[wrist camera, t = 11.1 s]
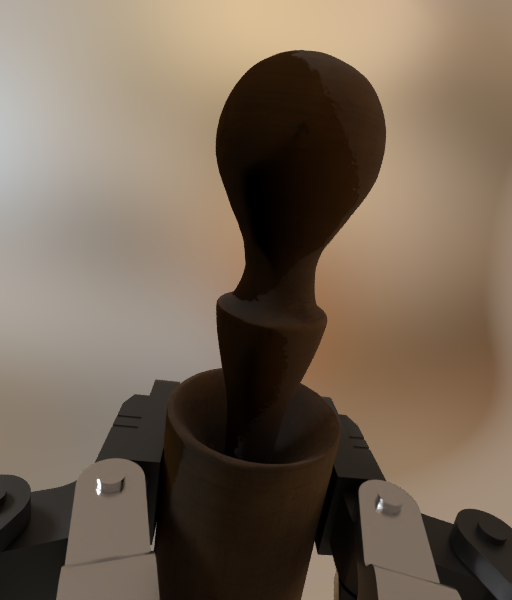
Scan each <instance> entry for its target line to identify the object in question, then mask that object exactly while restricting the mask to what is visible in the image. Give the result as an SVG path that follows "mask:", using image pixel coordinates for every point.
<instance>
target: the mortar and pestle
mask: <svg viewBox="0 0 512 600" xmlns="http://www.w3.org/2000/svg"><path fill="white" fill-rule="evenodd" d="M385 142H386V127H385V119H384V114H383V110H382V107H381V104H380V101H379V99H378V96H377V94H376V92H375V90H374V88H373V87H372V85H371V84H370V82H369V81H368V80H367V79H366V78H365V77H364V76H363V75H362V74H361V73H360V72H359V71H357V70H356V69H355V68H353V67H352V66H350V65H349V64H347V63H345V62H343V61H341V60H339V59H337V58H335V57H333V56H331V55H328V54H325V53H322V52H315V51H304V50H295V51H288V52H283V53H279V54H276V55H274V56H271V57H269V58H267V59H264V60H262V61H260V62H259V63H257V64H256V65H254V66H253V67H252V68H250V69H249V70H248V71H247V72H246V73H245V75H243V76H242V78H241V79H240V80H239V81H238V83H237V84H236V85H235V87H234V89H233V90H232V92H231V93H230V95H229V97H228V99H227V101H226V103H225V105H224V108H223V110H222V113H221V116H220V119H219V124H218V128H217V135H216V157H217V164H218V168H219V173H220V175H221V178H222V181H223V184H224V187H225V190H226V193H227V195H228V198H229V201H230V204H231V207H232V210H233V212H234V214H235V217H236V219H237V221H238V224H239V228H240V231H241V233H242V236H243V240H244V248H245V261H246V266H245V270H244V273H243V276H242V278H241V281H240V282H239V284H238V286H237V288H236V289H235V290H234V291H233V292H229V293H226V294H224V295H222V296H221V297H220V298H219V299H218V300H217V305H216V311H217V312H216V315H217V333H218V341H219V349H220V355H221V362H222V368H219V369H213V370H209V371H205V372H202V373H198V374H196V375H194V376H192V377H190V378H188V379H186V380H185V381H183V382H182V383H181V384H179V385H178V386H177V387H176V388H175V389H174V391H173V392H172V393H171V395H170V397H169V400H168V404H167V411H166V421H165V433H164V449H163V460H162V471H161V481H160V492H159V503H158V513H157V524H156V536H155V547H154V552H155V556H156V564H157V575H158V587H159V598H160V600H301V597H302V592H303V588H304V584H305V580H306V575H307V571H308V567H309V562H310V558H311V554H312V550H313V545H314V541H315V537H316V533H317V529H318V524H319V520H320V516H321V512H322V508H323V504H324V500H325V496H326V492H327V488H328V484H329V481H330V477H331V473H332V469H333V465H334V461H335V457H336V453H337V449H338V444H339V440H340V434H341V427H340V422H339V419H338V417H337V415H336V413H335V412H334V410H333V409H332V407H331V406H330V405H329V404H328V403H327V402H326V401H325V400H324V399H323V398H322V397H321V396H320V395H318V394H317V393H316V392H314V391H313V390H311V389H310V388H308V387H306V386H305V385H303V384H301V383H300V382H301V380H302V378H303V377H304V375H305V373H306V371H307V369H308V367H309V365H310V363H311V361H312V359H313V357H314V355H315V352H316V351H317V349H318V346H319V344H320V341H321V339H322V336H323V333H324V331H325V328H326V324H327V316H326V314H325V313H324V311H323V310H322V309H321V308H319V307H318V306H317V305H316V301H315V292H314V284H315V270H316V266H317V263H318V260H319V257H320V255H321V253H322V251H323V250H324V248H325V247H326V246H327V244H328V243H329V242H330V241H331V240H332V239H333V237H334V236H335V235H336V234H337V233H338V231H339V230H340V229H341V228H342V227H343V225H344V224H345V223H346V222H347V220H348V219H349V218H350V216H351V215H352V214H353V213H354V211H355V210H356V209H357V208H358V207H359V205H360V204H361V203H362V202H363V200H364V199H365V197H366V196H367V195H368V193H369V192H370V190H371V188H372V187H373V185H374V183H375V182H376V179H377V177H378V174H379V171H380V168H381V164H382V160H383V156H384V151H385Z"/></svg>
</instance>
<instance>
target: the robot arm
mask: <svg viewBox="0 0 512 600" xmlns="http://www.w3.org/2000/svg"><path fill="white" fill-rule="evenodd" d="M179 384H180V382H175V381H165V380H155V382H154V386H153V388H152V391H151V393H150V396H146V395H134V396H132V397H131V398H129V399H128V400H127V401H125V402H124V403H123V404H122V407H121V409H120V411H119V413H118V416H117V417H116V419H115V421H114V423H113V427H112V428H111V430H110V432H109V434H108V436H107V439H106V440H105V442H104V445H103V447H102V449H101V451H100V453H99V455H98V457H97V459H96V461H95V463H94V464H92V465H90V466H89V467H87V468H86V469H85V470H84V471H83V472H82V473H81V474H80V475H79V477H78V479H77V480H76V481H75V482H73V483H70V484H68V485H65V486H62V487H58V488H53V489H47V490H41V491H35V492H31V489H30V486H29V484H28V483H27V482H26V481H25V480H24V479H22V478H20V477H17V476H14V475H0V600H160V598H159V587H158V575H157V564H156V556H155V552H154V551H151V549H150V545H152V541H153V537H154V532H155V527H156V522H157V513H158V503H159V492H160V481H161V471H162V460H163V449H164V433H165V421H166V411H167V404H168V400H169V397H170V395H171V393H172V392H173V391H174V389H175V388H176V387H177V386H178V385H179ZM322 398H323V399H324V400H325V401H326V402H327V403H328V404H329V405H330V406H331V407H332V409H333V410H334V412H335V413H336V415H337V417H338V419H339V422H340V427H341V434H340V440H339V444H338V449H337V453H336V457H335V461H334V465H333V469H332V473H331V477H330V481H329V484H328V488H327V492H326V496H325V500H324V504H323V508H322V512H321V516H320V520H319V524H318V529H317V533H316V537H315V543H316V548H317V553H318V554H320V555H333V558H334V562H335V566H336V569H337V570H336V574H335V577H334V600H512V528H511V527H510V526H508V525H507V524H506V523H505V522H503V521H502V520H500V519H498V518H497V517H495V516H493V515H491V514H489V513H486V512H484V511H480V510H476V509H464V510H462V511H460V512H459V513H458V515H457V517H456V519H455V522H454V524H451V523H448V522H445V521H442V520H439V519H436V518H433V517H430V516H427V515H424V514H422V513H420V509H419V507H418V505H417V503H416V501H415V500H414V499H413V498H412V497H411V496H410V495H409V494H408V493H407V492H406V491H405V490H403V489H402V488H400V487H398V486H397V485H395V484H392V483H390V482H387V481H386V480H385V478H384V476H383V474H382V472H381V470H380V468H379V466H378V464H377V462H376V460H375V458H374V457H373V454H372V453H371V451H370V450H369V447H368V445H367V443H366V441H365V440H364V437H363V435H362V433H361V431H360V429H359V427H358V426H357V425H356V424H355V423H354V422H353V421H352V420H351V419H350V418H349V417H348V416H346V415H339V414H338V413H337V410H336V408H335V406H334V404H333V401H332V399H331V398H329V397H322Z"/></svg>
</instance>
